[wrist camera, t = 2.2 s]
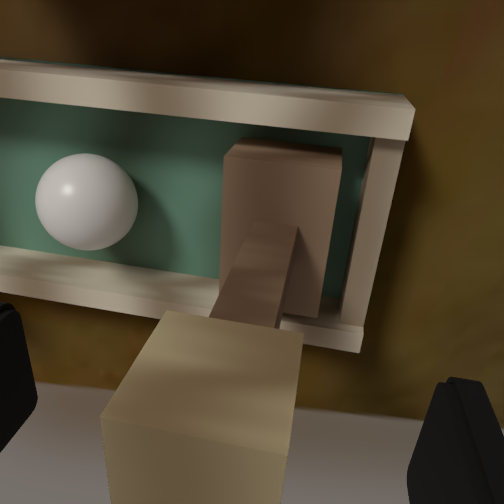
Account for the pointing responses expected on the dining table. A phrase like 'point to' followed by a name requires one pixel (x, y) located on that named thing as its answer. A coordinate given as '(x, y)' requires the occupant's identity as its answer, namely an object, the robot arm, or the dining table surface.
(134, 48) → the dining table surface
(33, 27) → the dining table surface
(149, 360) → the striker
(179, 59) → the dining table surface
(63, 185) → the ball
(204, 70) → the dining table surface
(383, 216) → the pitch
